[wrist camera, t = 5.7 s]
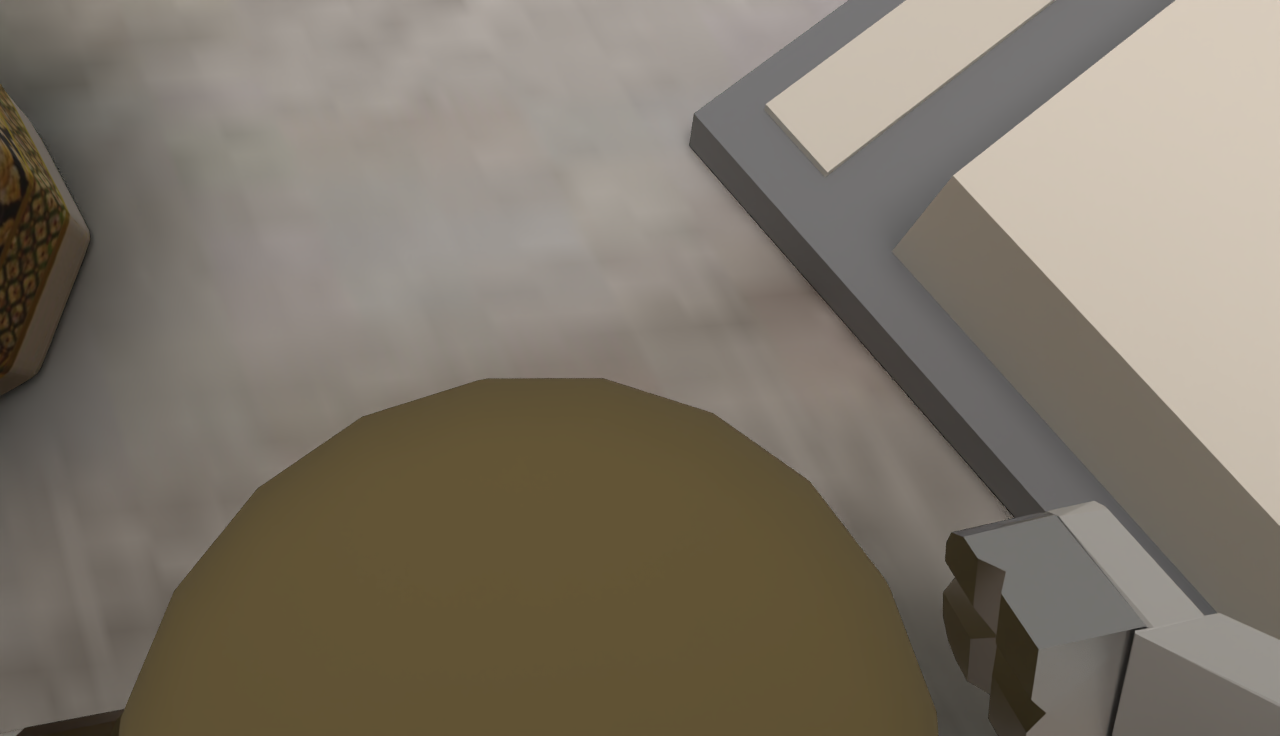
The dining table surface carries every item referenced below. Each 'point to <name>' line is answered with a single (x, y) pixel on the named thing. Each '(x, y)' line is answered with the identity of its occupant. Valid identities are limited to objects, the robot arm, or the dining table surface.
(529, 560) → the cork
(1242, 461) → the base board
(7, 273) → the ceramic cup
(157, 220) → the dining table surface
